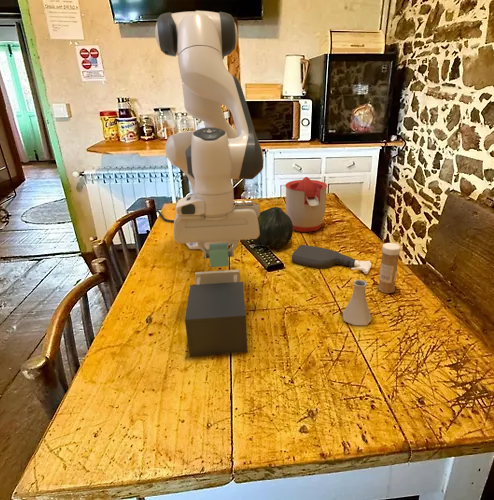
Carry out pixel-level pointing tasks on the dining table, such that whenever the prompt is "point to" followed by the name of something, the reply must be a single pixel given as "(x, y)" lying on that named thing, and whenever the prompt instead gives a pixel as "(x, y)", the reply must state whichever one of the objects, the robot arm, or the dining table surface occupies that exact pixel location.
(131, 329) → the dining table surface
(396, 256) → the sprinkles bottle
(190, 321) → the dark grey box
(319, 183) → the citrus juicer
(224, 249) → the block
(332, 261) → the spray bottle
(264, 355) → the dining table surface
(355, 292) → the flask
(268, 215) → the squash
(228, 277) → the tray
